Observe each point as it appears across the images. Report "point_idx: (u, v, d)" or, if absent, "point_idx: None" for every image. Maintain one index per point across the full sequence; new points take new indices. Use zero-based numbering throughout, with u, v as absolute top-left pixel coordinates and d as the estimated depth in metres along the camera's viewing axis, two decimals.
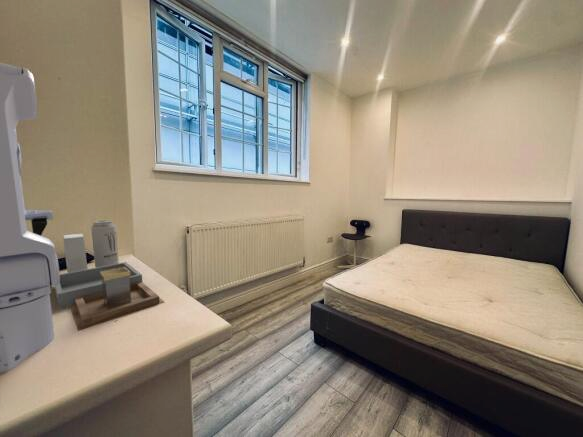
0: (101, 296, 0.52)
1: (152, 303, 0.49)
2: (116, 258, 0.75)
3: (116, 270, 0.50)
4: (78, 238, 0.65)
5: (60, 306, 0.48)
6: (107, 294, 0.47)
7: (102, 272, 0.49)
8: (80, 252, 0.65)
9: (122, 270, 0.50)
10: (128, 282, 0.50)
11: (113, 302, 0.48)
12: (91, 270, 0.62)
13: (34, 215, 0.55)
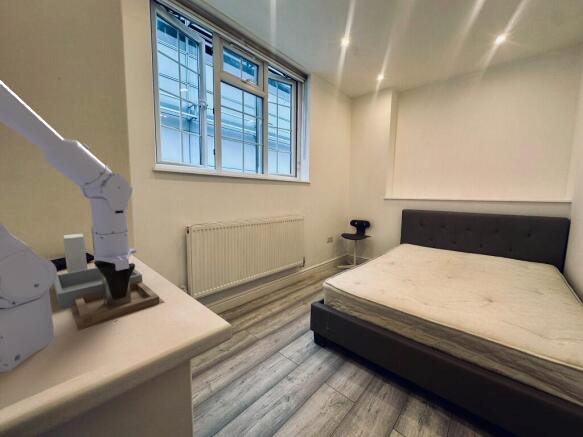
0: (101, 296, 0.52)
1: (152, 303, 0.49)
2: None
3: None
4: (78, 238, 0.65)
5: (60, 306, 0.48)
6: (107, 294, 0.47)
7: None
8: (80, 252, 0.65)
9: None
10: None
11: (113, 302, 0.48)
12: (91, 270, 0.62)
13: (107, 260, 0.45)
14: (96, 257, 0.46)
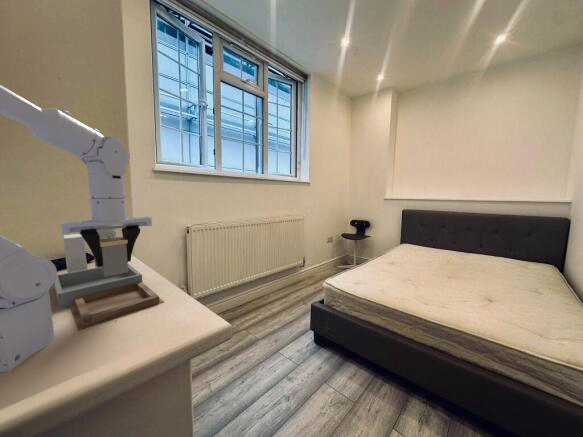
0: (101, 296, 0.52)
1: (152, 303, 0.49)
2: None
3: (109, 239, 0.48)
4: (78, 238, 0.65)
5: (60, 306, 0.48)
6: (126, 257, 0.49)
7: (106, 241, 0.46)
8: (80, 252, 0.65)
9: (113, 238, 0.50)
10: None
11: None
12: (91, 270, 0.62)
13: (136, 220, 0.50)
14: (119, 221, 0.47)
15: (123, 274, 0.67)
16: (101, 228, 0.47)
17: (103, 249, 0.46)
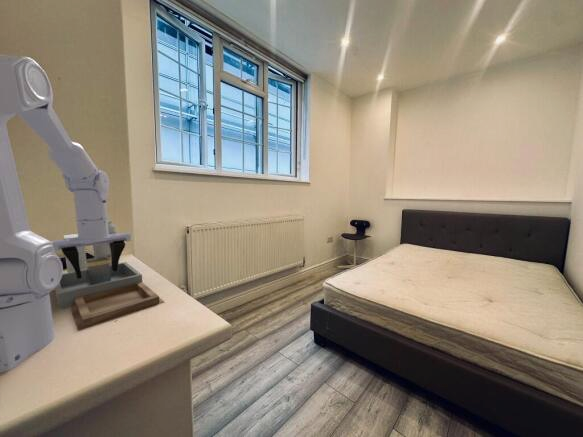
0: (101, 296, 0.52)
1: (152, 303, 0.49)
2: None
3: (94, 259, 0.57)
4: None
5: (60, 306, 0.48)
6: None
7: (92, 262, 0.55)
8: (80, 252, 0.65)
9: (98, 258, 0.58)
10: None
11: None
12: None
13: (117, 237, 0.59)
14: (101, 239, 0.55)
15: (123, 274, 0.67)
16: (86, 244, 0.55)
17: (89, 269, 0.55)
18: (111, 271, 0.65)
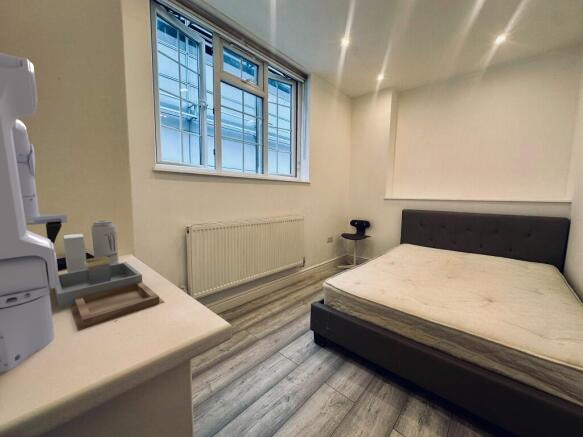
0: (101, 296, 0.52)
1: (152, 303, 0.49)
2: (116, 258, 0.75)
3: (94, 259, 0.57)
4: (78, 238, 0.65)
5: (60, 306, 0.48)
6: None
7: (92, 262, 0.55)
8: (80, 252, 0.65)
9: (98, 258, 0.58)
10: None
11: None
12: None
13: (48, 217, 0.53)
14: (26, 218, 0.50)
15: (123, 274, 0.67)
16: None
17: (89, 269, 0.55)
18: (111, 271, 0.65)
